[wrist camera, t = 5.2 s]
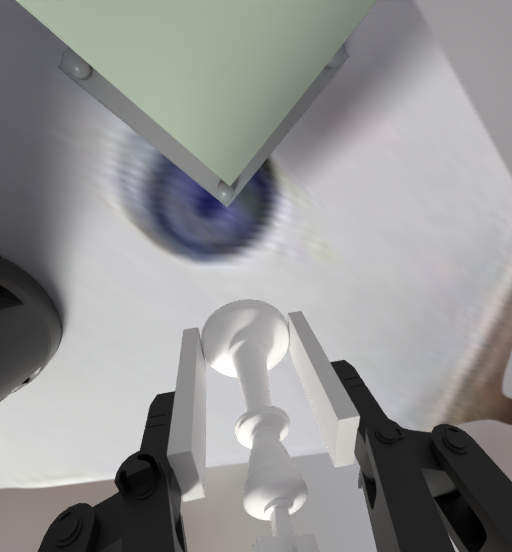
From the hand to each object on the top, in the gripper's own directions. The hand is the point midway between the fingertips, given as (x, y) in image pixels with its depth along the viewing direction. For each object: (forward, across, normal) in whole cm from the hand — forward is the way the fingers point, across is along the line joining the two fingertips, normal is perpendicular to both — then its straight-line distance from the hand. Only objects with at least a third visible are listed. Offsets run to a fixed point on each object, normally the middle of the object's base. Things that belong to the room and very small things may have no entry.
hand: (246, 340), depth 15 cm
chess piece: (+1, 0, 0) cm, 1 cm away
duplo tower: (+12, 0, +15) cm, 19 cm away
